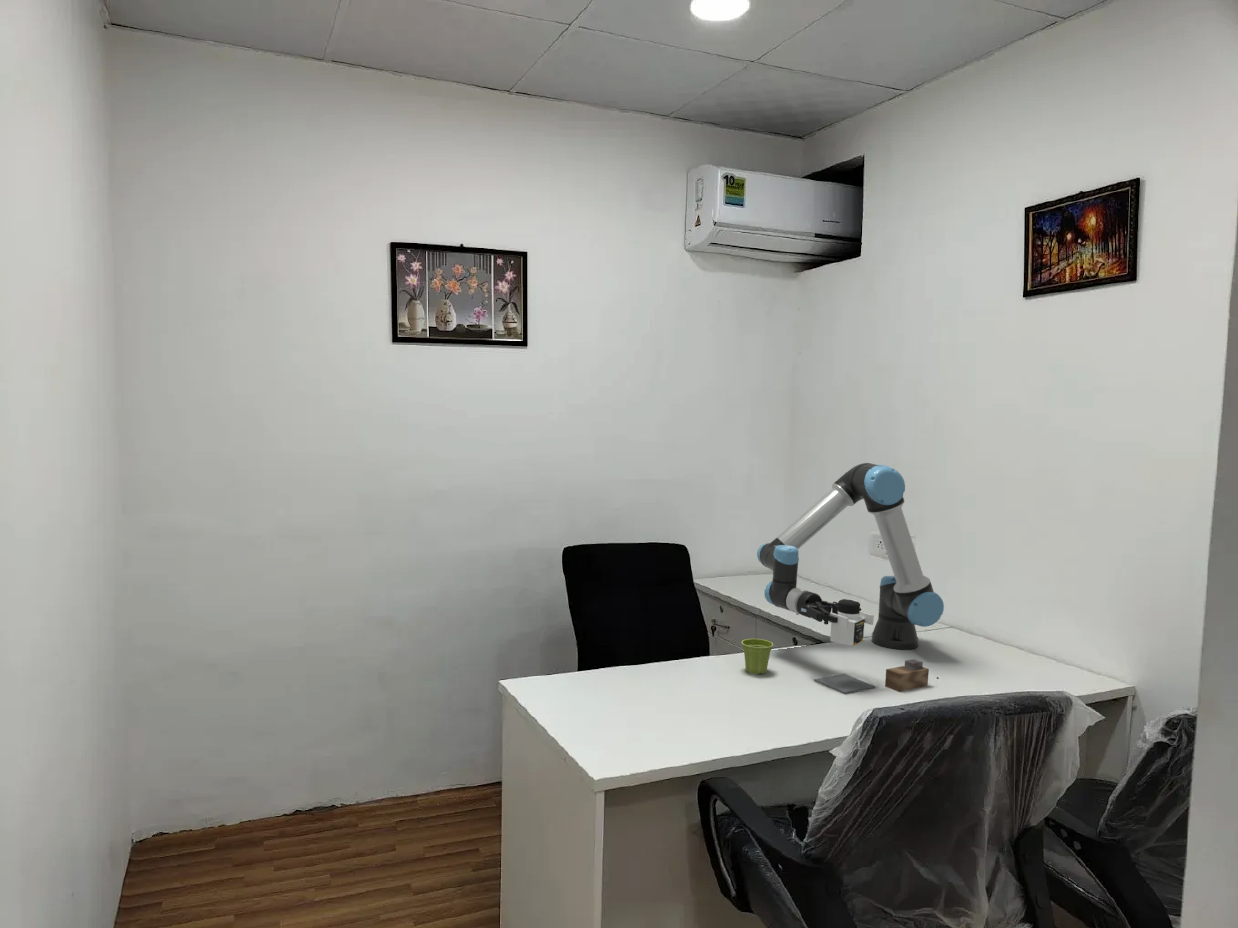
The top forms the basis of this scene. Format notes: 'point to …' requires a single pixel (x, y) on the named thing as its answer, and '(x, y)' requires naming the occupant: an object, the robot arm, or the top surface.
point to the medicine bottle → (855, 624)
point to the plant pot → (756, 655)
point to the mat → (844, 683)
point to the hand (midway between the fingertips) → (860, 621)
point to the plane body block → (907, 676)
